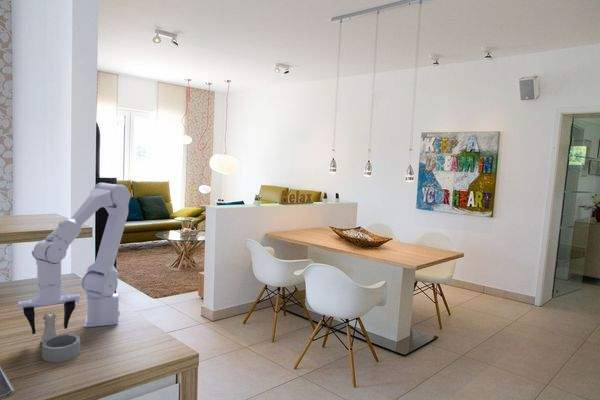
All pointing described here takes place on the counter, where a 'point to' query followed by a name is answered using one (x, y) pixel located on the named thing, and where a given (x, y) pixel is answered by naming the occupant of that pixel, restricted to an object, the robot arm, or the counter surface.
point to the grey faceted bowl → (61, 347)
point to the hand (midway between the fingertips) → (49, 330)
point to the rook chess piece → (49, 326)
